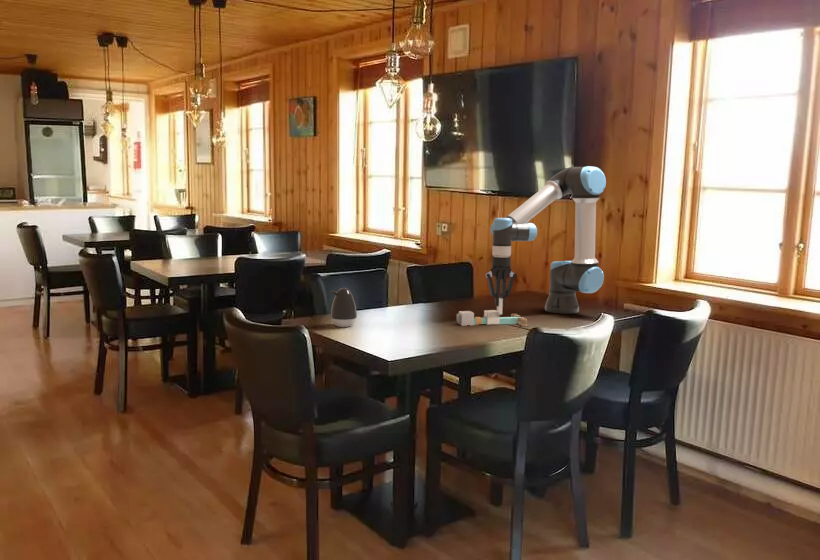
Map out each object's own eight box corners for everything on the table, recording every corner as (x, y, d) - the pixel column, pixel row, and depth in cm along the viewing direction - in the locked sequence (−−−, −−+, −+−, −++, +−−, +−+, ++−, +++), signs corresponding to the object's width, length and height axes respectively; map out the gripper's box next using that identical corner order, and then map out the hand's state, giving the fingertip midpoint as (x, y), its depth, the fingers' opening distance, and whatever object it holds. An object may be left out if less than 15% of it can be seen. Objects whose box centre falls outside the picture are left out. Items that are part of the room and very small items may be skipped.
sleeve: (495, 321, 293) (495, 310, 292) (499, 324, 288) (499, 312, 287) (483, 322, 292) (484, 310, 291) (487, 324, 287) (487, 312, 286)
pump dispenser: (326, 324, 283) (327, 286, 281) (351, 323, 287) (352, 285, 285) (334, 329, 273) (334, 290, 271) (360, 327, 277) (360, 289, 275)
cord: (519, 322, 295) (519, 310, 294) (523, 324, 290) (523, 312, 289) (455, 323, 289) (456, 311, 289) (459, 325, 285) (459, 313, 284)
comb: (515, 320, 299) (516, 313, 299) (527, 326, 286) (527, 319, 285) (510, 320, 299) (510, 313, 298) (521, 326, 285) (522, 319, 285)
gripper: (513, 255, 292) (511, 312, 295) (483, 255, 289) (481, 312, 292) (520, 257, 285) (517, 315, 288) (488, 257, 282) (486, 315, 285)
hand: (499, 313), depth 290 cm, fingers closed
